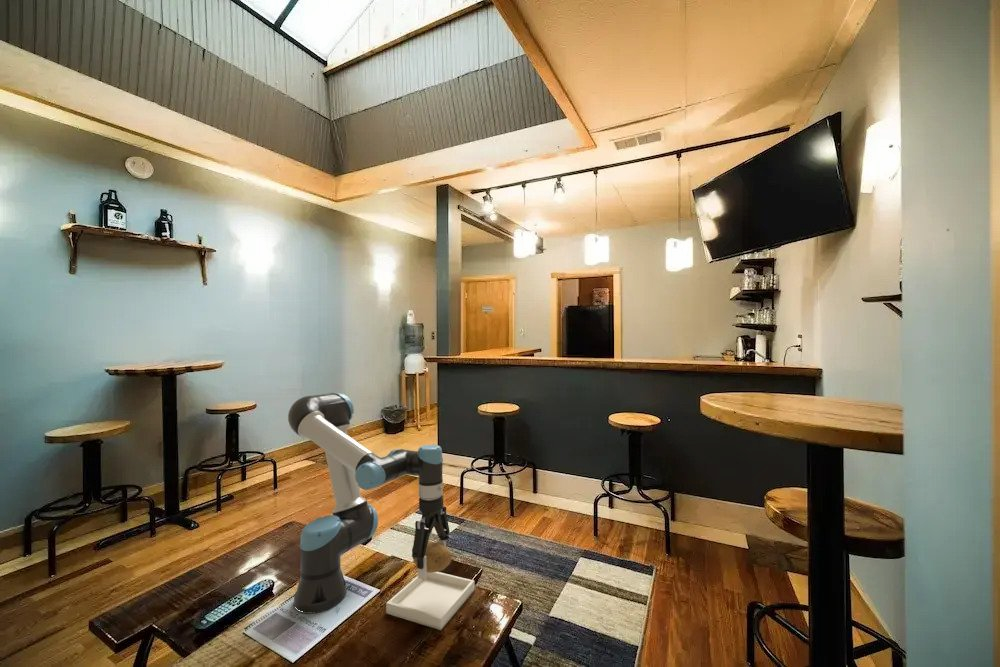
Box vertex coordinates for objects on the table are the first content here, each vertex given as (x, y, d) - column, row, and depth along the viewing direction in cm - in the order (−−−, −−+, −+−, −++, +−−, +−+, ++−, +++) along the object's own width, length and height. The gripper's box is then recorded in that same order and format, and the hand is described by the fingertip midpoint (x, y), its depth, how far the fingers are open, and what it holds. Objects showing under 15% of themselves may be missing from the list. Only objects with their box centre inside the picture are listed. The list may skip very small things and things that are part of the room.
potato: (438, 584, 114) (438, 556, 114) (404, 571, 122) (404, 544, 122) (459, 569, 122) (459, 542, 123) (426, 557, 130) (426, 532, 130)
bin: (386, 613, 116) (386, 602, 116) (425, 577, 134) (425, 568, 135) (440, 630, 108) (440, 619, 109) (474, 590, 127) (474, 580, 127)
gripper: (419, 511, 111) (421, 592, 110) (459, 486, 132) (461, 554, 131) (398, 507, 114) (399, 586, 113) (440, 483, 135) (441, 550, 134)
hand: (432, 569), depth 122 cm, fingers closed on potato, 10 cm apart
